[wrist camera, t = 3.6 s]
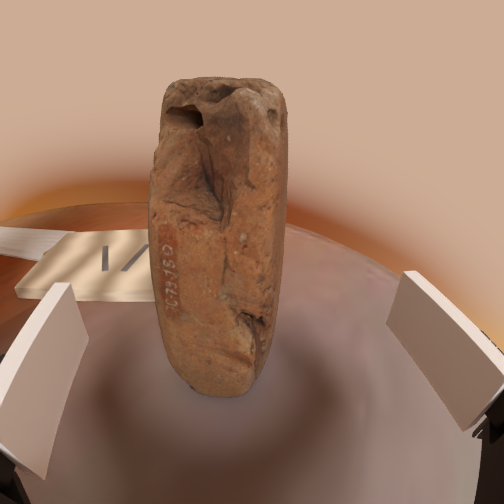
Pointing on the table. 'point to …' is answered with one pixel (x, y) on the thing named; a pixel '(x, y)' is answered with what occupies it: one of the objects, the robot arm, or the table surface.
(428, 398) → the table surface
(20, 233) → the baseboard
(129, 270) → the board
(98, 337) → the table surface
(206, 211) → the block
